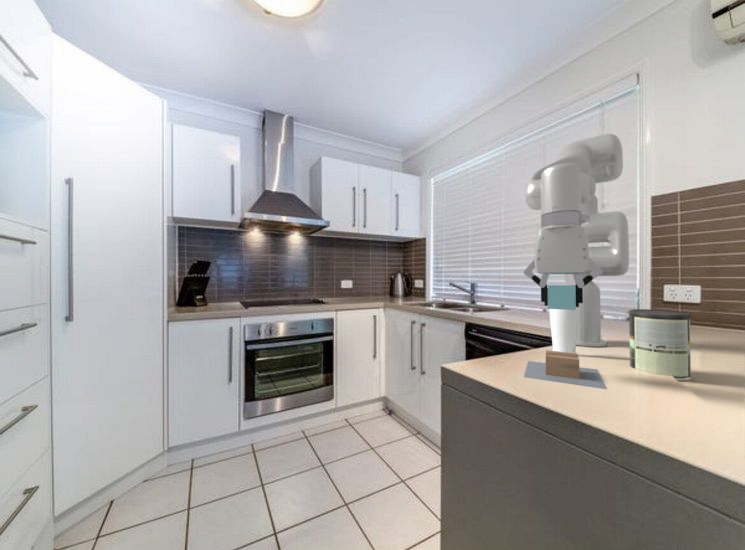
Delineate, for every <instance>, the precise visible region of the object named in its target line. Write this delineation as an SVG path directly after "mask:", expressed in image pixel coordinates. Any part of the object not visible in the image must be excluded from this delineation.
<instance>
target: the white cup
mask: <svg viewBox="0 0 745 550" xmlns="http://www.w3.org/2000/svg"><path fill="white" fill-rule="evenodd" d="M548 310H549V323H550V324H549V325H550V332H551V334H550V335H551V342H552V351H559V352H569V353H577V352H576V349H577V345H576V338H577V328H578V307H576V310H563V309H548Z"/></svg>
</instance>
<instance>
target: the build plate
mask: <svg viewBox="0 0 745 550" xmlns="http://www.w3.org/2000/svg"><path fill="white" fill-rule="evenodd" d="M523 378H526V379H527V378H528V379H533V380H541V381H548V382H554V383H562V384H568V385H575V386H582V387H588V388H596V389H603V390H608V389H607V386H606V385H605V382H604V380H603V379H602V376H601V374H600V372H599V369H597V368H589V367H581V366H579V378H580V379H574V378H567V377H559V376H552V375H546V362H541V361H531V360H527V364H526V368H525V371H524V374H523Z"/></svg>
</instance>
